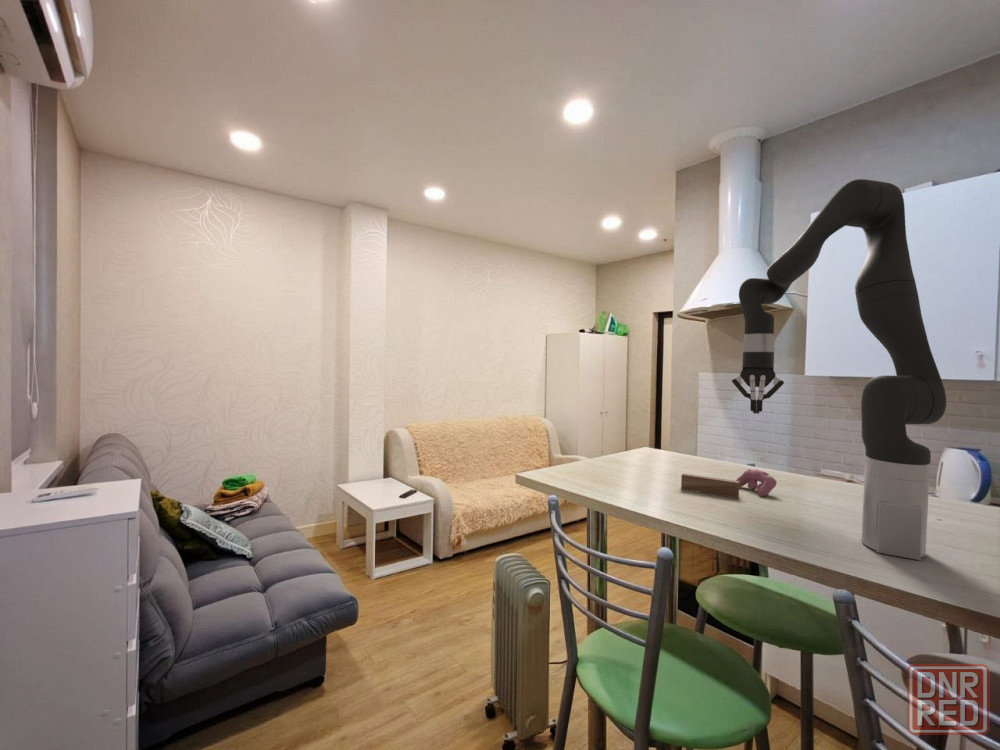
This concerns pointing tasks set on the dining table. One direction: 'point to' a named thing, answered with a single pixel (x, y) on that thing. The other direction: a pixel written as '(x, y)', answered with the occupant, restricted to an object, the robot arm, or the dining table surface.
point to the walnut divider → (710, 485)
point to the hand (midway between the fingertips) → (756, 413)
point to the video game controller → (757, 475)
